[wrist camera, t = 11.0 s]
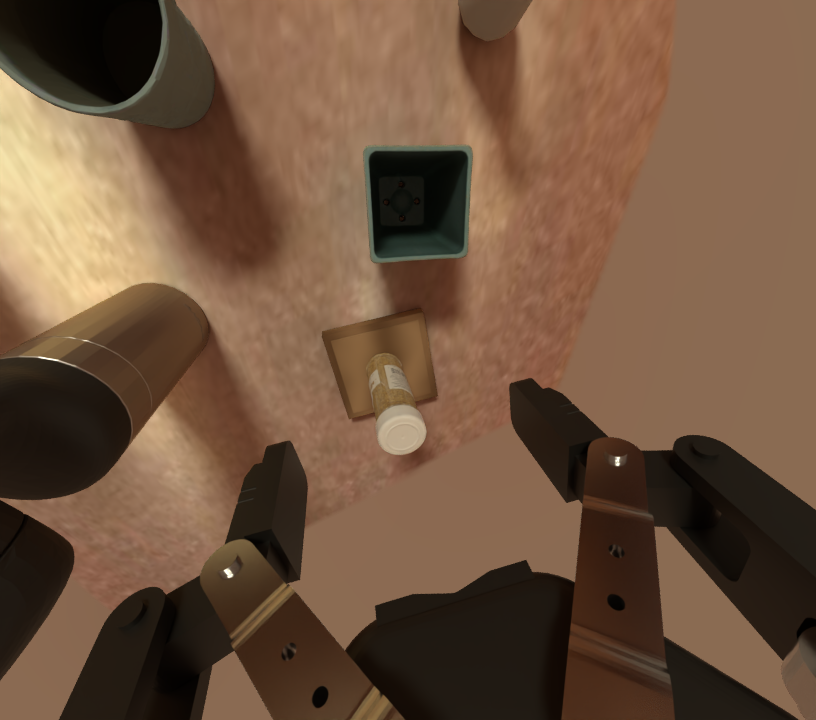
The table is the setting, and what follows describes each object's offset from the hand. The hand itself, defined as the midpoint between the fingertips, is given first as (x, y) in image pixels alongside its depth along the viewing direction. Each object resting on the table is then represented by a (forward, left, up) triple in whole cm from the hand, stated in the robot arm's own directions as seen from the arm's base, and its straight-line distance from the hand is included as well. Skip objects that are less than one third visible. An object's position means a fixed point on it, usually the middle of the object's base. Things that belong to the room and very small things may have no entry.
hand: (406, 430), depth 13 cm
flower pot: (+6, +5, -30) cm, 31 cm away
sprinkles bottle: (0, -13, -29) cm, 31 cm away
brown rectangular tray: (0, -13, -30) cm, 33 cm away
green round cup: (-12, +19, -30) cm, 38 cm away
